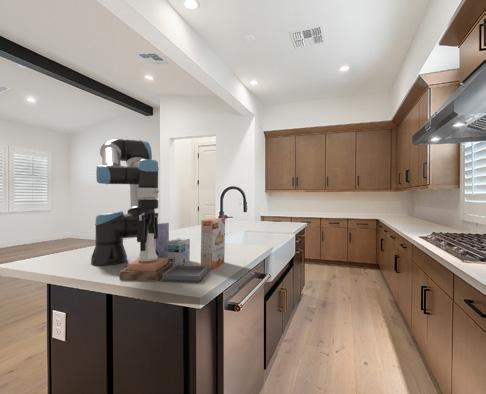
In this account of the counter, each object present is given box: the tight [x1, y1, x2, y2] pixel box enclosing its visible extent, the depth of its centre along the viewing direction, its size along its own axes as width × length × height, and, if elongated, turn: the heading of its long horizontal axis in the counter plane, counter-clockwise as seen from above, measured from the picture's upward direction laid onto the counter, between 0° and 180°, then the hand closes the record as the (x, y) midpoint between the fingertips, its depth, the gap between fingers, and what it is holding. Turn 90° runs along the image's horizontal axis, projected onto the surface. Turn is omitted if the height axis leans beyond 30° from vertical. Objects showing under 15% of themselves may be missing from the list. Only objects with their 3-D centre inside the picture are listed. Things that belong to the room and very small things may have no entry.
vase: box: [137, 233, 158, 261], centre depth 106 cm, size 8×8×10 cm
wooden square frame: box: [119, 262, 174, 282], centre depth 106 cm, size 15×15×3 cm
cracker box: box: [200, 217, 226, 270], centre depth 120 cm, size 14×6×21 cm, turn 162°
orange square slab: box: [127, 258, 167, 272], centre depth 106 cm, size 11×11×2 cm
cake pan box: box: [148, 222, 170, 258], centre depth 128 cm, size 19×5×18 cm, turn 172°
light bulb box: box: [167, 237, 191, 266], centre depth 125 cm, size 11×7×11 cm, turn 168°
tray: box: [161, 264, 209, 284], centre depth 104 cm, size 14×14×2 cm
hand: (148, 256), depth 106 cm, fingers closed on vase, 6 cm apart
